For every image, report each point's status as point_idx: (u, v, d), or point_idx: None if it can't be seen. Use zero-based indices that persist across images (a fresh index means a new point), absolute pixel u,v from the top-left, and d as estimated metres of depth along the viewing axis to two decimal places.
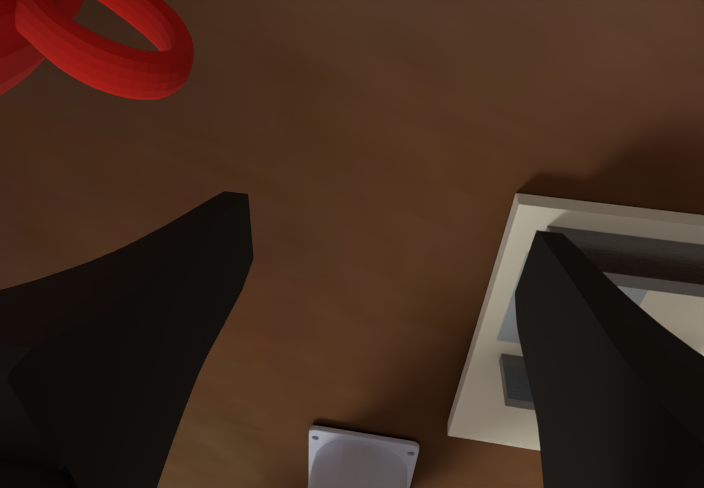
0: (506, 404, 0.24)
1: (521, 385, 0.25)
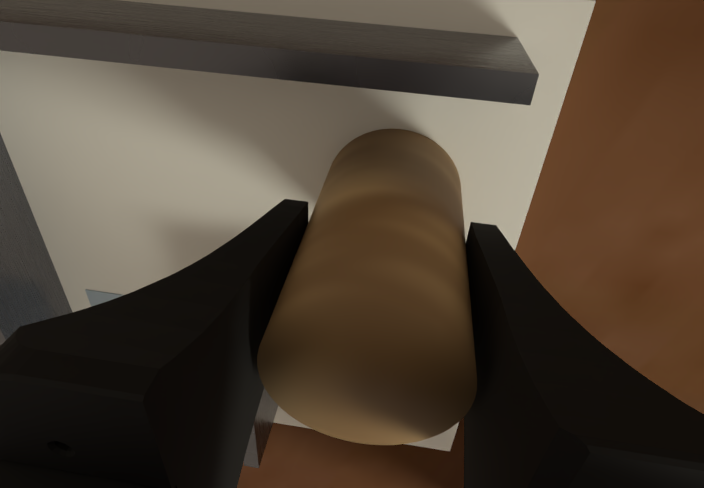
0: (256, 466, 0.19)
1: None
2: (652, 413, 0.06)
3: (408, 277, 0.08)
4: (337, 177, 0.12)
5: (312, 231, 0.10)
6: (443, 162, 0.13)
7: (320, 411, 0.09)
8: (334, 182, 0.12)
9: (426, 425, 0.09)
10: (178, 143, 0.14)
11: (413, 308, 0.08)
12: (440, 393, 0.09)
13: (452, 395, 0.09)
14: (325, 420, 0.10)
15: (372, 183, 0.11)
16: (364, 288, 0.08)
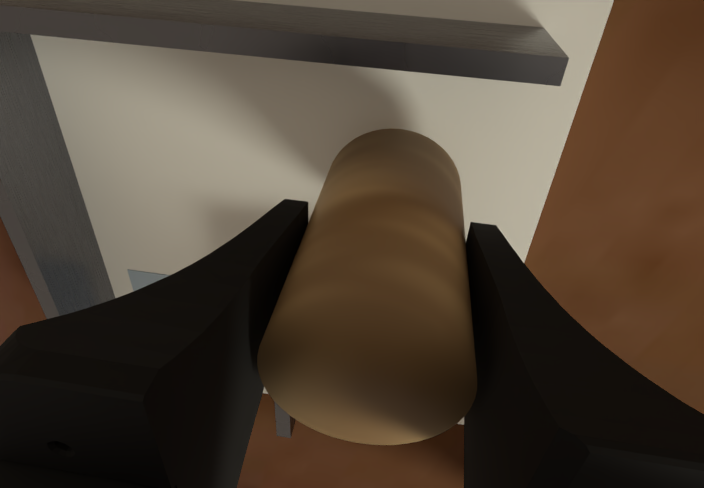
0: (288, 436, 0.20)
1: None
2: (652, 414, 0.06)
3: (408, 277, 0.08)
4: (337, 177, 0.12)
5: (312, 231, 0.10)
6: (443, 162, 0.13)
7: (320, 411, 0.09)
8: (334, 182, 0.12)
9: (426, 425, 0.09)
10: (225, 128, 0.16)
11: (413, 307, 0.08)
12: (440, 393, 0.09)
13: (452, 395, 0.09)
14: (325, 420, 0.10)
15: (372, 183, 0.11)
16: (365, 288, 0.08)
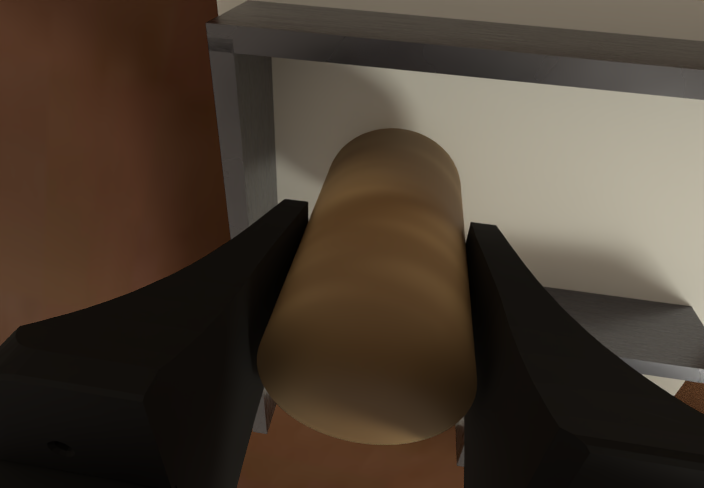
0: None
1: (459, 433, 0.20)
2: (651, 414, 0.06)
3: (408, 277, 0.08)
4: (337, 177, 0.12)
5: (312, 231, 0.10)
6: (443, 162, 0.13)
7: (319, 411, 0.09)
8: (334, 182, 0.12)
9: (426, 425, 0.09)
10: (460, 154, 0.15)
11: (413, 306, 0.08)
12: (440, 393, 0.09)
13: (452, 395, 0.09)
14: (325, 420, 0.10)
15: (372, 183, 0.11)
16: (364, 288, 0.08)
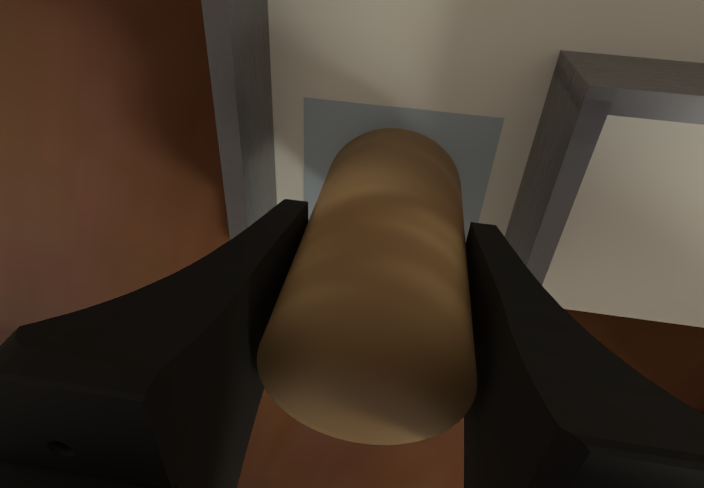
0: None
1: None
2: (651, 413, 0.06)
3: (408, 277, 0.08)
4: (337, 176, 0.12)
5: (312, 230, 0.10)
6: (443, 162, 0.13)
7: (319, 411, 0.09)
8: (334, 181, 0.12)
9: (426, 425, 0.09)
10: None
11: (413, 306, 0.08)
12: (440, 393, 0.09)
13: (452, 395, 0.09)
14: (325, 420, 0.10)
15: (372, 182, 0.11)
16: (364, 287, 0.08)
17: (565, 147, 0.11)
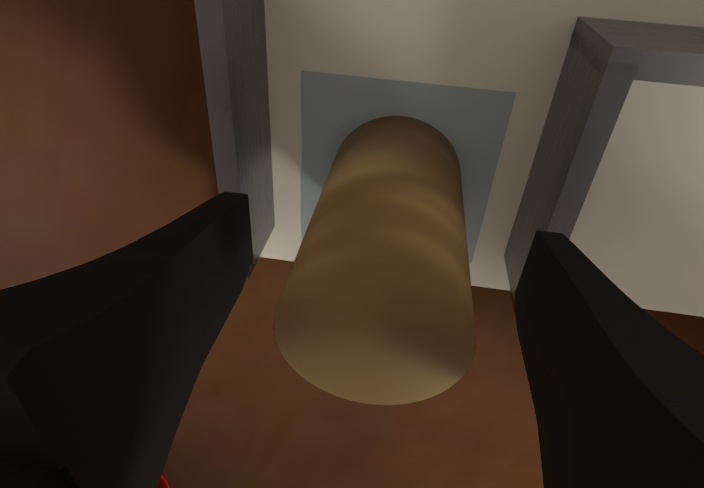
0: None
1: (518, 275, 0.14)
2: None
3: (412, 243, 0.09)
4: (344, 159, 0.13)
5: (322, 207, 0.11)
6: (444, 147, 0.13)
7: (330, 372, 0.10)
8: (341, 164, 0.12)
9: (429, 384, 0.10)
10: None
11: (418, 268, 0.08)
12: (441, 352, 0.09)
13: (453, 353, 0.09)
14: (335, 381, 0.10)
15: (377, 163, 0.11)
16: (373, 252, 0.08)
17: (585, 117, 0.10)
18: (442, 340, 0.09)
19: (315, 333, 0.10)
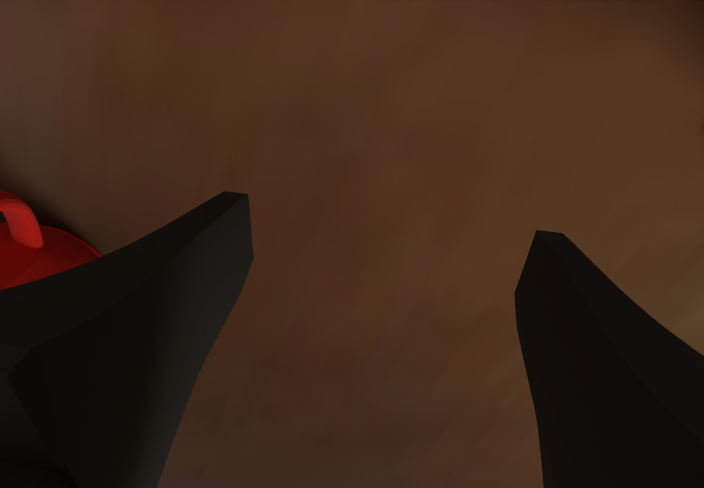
0: None
1: None
2: None
3: None
4: None
5: None
6: None
7: None
8: None
9: None
10: None
11: None
12: None
13: None
14: None
15: None
16: None
17: None
18: None
19: None
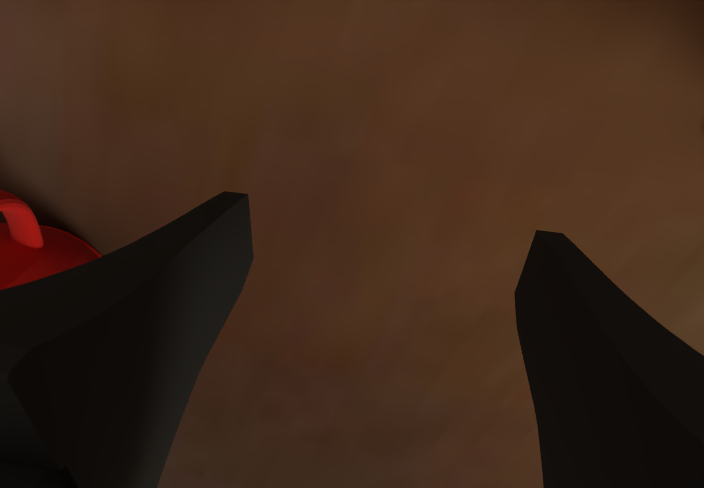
0: None
1: None
2: None
3: None
4: None
5: None
6: None
7: None
8: None
9: None
10: None
11: None
12: None
13: None
14: None
15: None
16: None
17: None
18: None
19: None
